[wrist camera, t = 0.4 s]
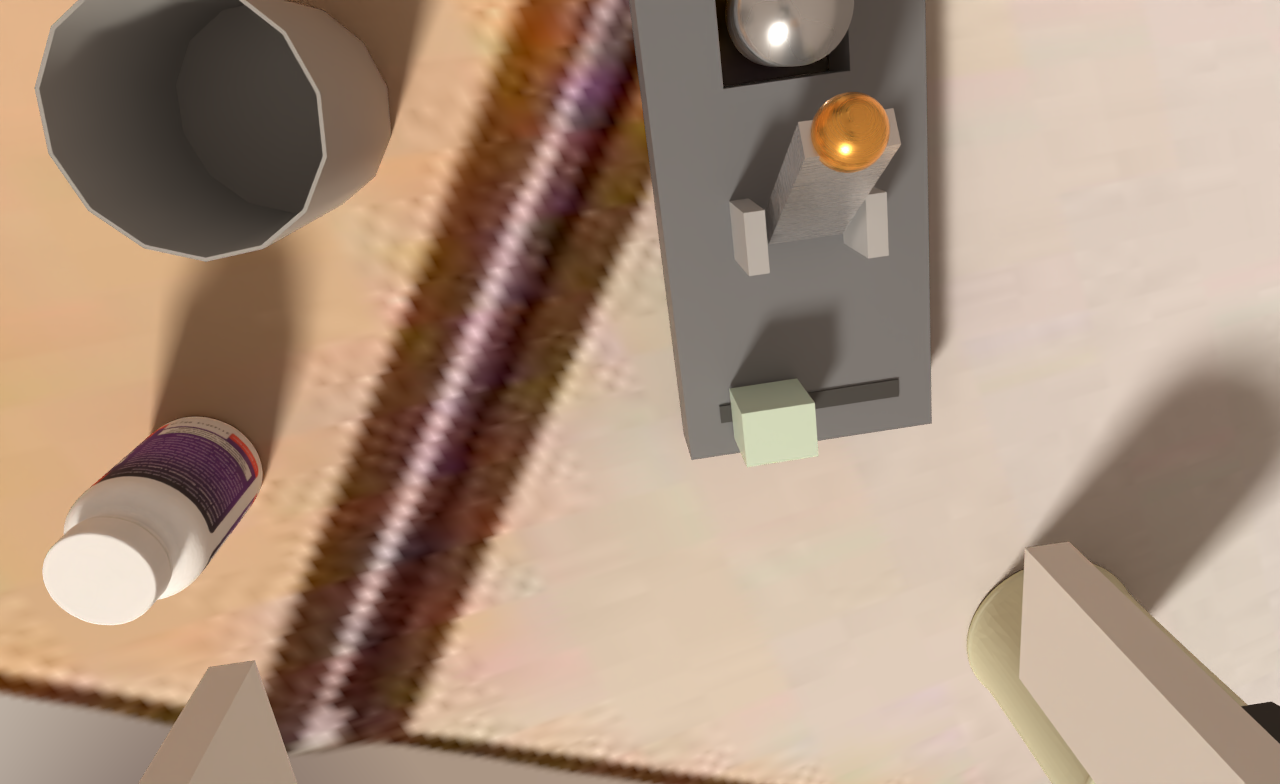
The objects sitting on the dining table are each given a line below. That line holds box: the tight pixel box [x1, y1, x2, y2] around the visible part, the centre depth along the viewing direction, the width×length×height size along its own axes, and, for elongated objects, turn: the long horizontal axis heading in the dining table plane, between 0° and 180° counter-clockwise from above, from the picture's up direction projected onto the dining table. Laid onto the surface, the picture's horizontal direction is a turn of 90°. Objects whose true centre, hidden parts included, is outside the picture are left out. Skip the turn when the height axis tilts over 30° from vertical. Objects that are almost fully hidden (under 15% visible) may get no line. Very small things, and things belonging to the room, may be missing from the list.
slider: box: [729, 378, 818, 467], centre depth 37 cm, size 2×3×3 cm
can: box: [967, 564, 1247, 784], centre depth 42 cm, size 9×9×12 cm
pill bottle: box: [43, 417, 263, 625], centre depth 36 cm, size 5×5×10 cm
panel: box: [629, 0, 932, 460], centre depth 34 cm, size 30×11×6 cm, turn 8°
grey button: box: [725, 0, 854, 67], centre depth 32 cm, size 4×4×4 cm
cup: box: [35, 0, 391, 262], centre depth 31 cm, size 8×8×10 cm
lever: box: [765, 92, 901, 245], centre depth 30 cm, size 2×3×9 cm
